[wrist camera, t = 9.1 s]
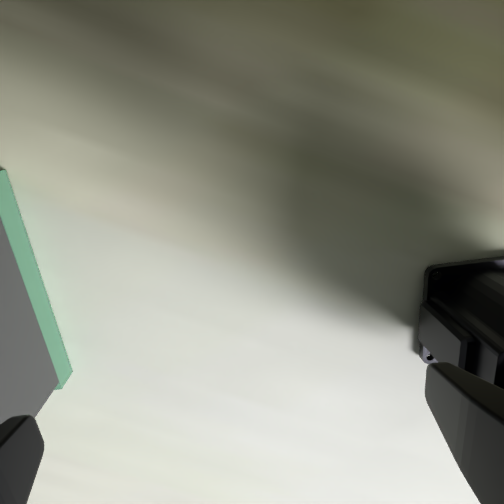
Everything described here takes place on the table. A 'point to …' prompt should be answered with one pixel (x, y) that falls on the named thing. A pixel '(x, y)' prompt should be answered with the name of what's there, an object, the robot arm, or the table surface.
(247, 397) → the table surface
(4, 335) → the block
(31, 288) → the green peg board
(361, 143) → the table surface
